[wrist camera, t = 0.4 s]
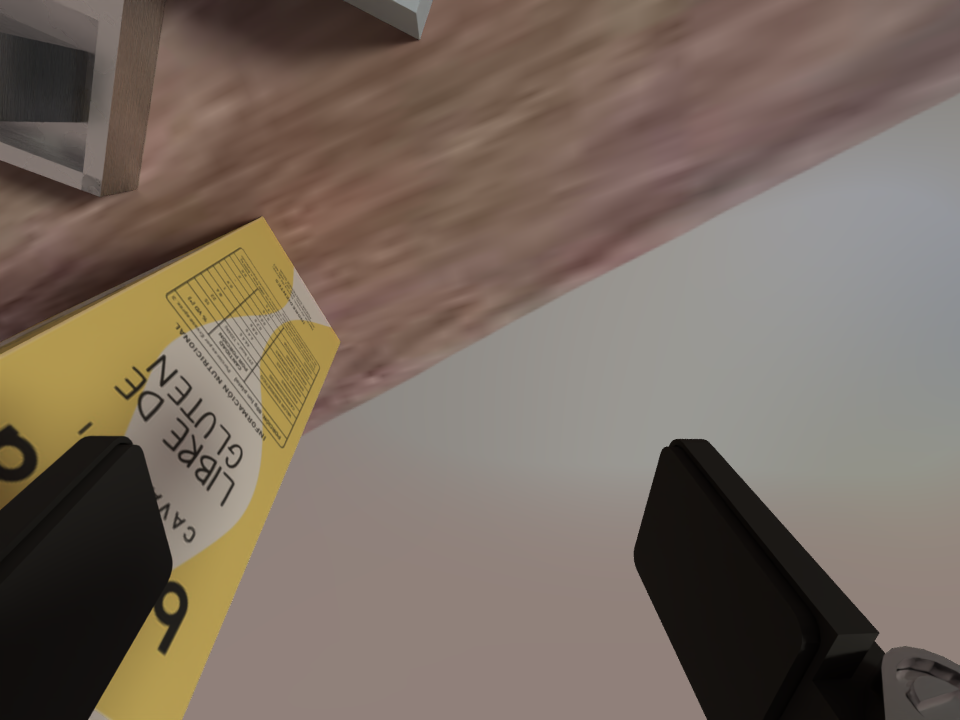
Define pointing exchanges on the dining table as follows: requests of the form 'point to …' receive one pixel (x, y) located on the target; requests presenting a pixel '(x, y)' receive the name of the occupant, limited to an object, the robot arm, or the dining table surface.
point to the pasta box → (177, 426)
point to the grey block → (398, 13)
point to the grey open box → (78, 88)
